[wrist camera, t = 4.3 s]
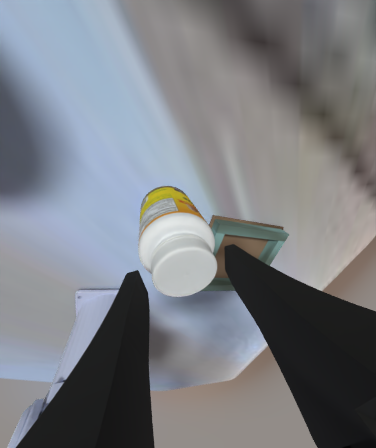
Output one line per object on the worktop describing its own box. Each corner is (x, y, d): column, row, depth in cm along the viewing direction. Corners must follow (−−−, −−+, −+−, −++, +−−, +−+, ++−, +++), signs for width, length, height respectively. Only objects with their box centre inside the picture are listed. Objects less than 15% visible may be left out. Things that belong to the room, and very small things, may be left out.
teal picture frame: (248, 283, 29) (254, 291, 27) (187, 283, 25) (190, 292, 23) (282, 226, 24) (291, 233, 22) (212, 215, 20) (218, 221, 18)
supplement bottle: (195, 218, 19) (236, 285, 11) (153, 235, 19) (160, 317, 10) (180, 175, 16) (221, 219, 8) (131, 194, 16) (115, 262, 8)
